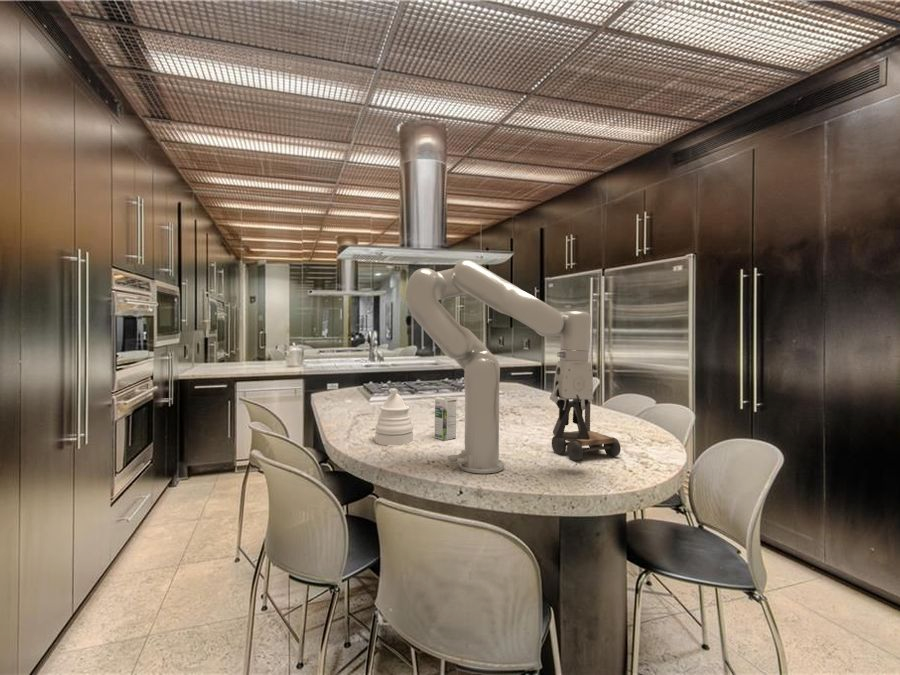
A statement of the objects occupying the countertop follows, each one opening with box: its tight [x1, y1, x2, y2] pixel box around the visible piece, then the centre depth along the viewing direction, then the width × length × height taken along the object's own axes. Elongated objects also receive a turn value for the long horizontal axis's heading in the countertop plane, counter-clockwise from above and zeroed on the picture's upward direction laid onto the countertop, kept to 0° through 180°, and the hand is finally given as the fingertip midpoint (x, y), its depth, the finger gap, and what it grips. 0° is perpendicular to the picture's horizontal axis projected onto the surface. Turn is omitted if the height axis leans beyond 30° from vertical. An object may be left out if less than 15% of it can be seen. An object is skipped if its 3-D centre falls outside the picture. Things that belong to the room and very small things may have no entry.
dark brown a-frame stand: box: [552, 395, 590, 440], centre depth 125 cm, size 9×6×12 cm, turn 84°
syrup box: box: [433, 396, 458, 441], centre depth 163 cm, size 6×6×14 cm
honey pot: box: [374, 388, 414, 446], centre depth 158 cm, size 13×13×18 cm
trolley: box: [551, 397, 621, 462], centre depth 142 cm, size 15×14×19 cm
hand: (570, 423), depth 125 cm, fingers closed on dark brown a-frame stand, 3 cm apart
